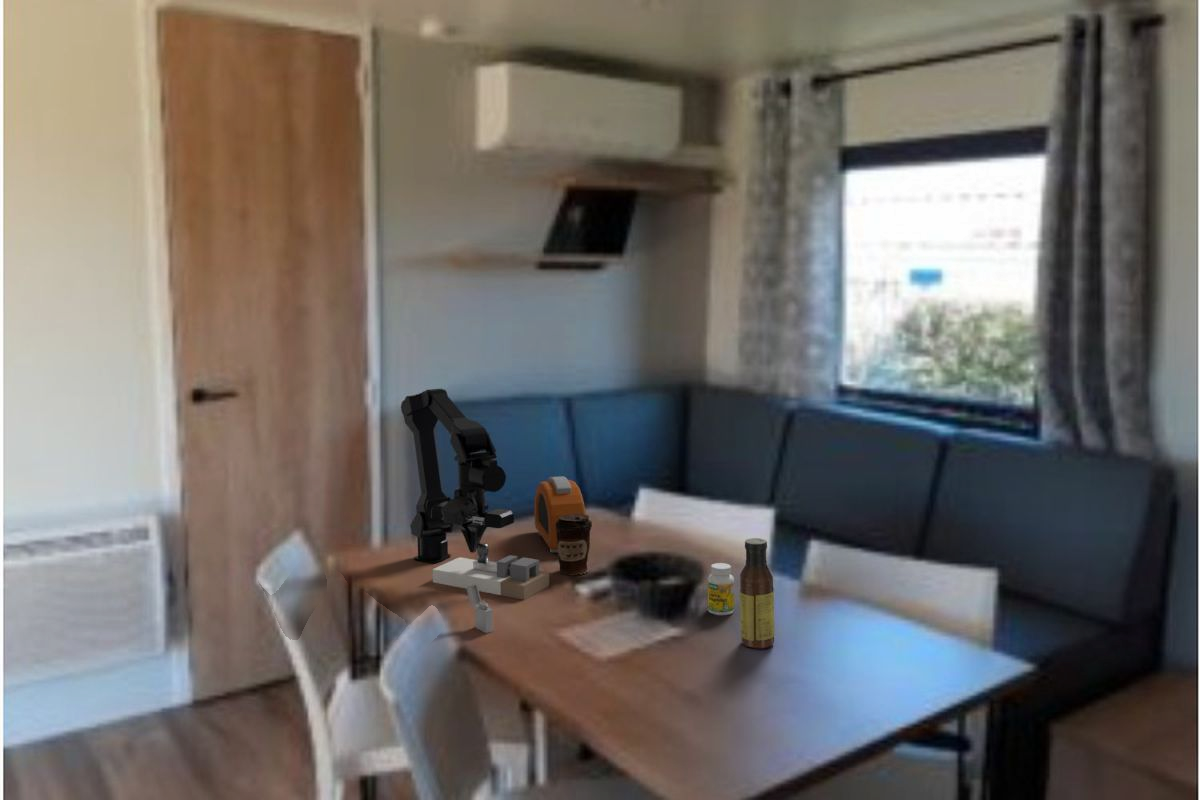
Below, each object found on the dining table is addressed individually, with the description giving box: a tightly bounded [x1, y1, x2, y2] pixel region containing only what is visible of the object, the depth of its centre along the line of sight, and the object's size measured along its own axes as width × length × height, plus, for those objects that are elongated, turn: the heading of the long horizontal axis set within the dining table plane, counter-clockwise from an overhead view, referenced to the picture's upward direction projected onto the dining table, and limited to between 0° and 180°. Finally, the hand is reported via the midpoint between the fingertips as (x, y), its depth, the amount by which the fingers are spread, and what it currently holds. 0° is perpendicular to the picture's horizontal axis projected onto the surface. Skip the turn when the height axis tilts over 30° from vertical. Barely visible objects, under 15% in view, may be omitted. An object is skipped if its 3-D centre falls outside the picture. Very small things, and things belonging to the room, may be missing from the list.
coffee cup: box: [555, 514, 593, 576], centre depth 229 cm, size 9×8×13 cm
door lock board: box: [432, 554, 550, 600], centre depth 221 cm, size 24×10×6 cm, turn 62°
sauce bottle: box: [739, 537, 776, 650], centre depth 186 cm, size 6×6×20 cm
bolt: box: [473, 542, 511, 575], centre depth 220 cm, size 10×2×6 cm, turn 62°
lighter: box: [465, 584, 494, 634], centre depth 196 cm, size 7×2×8 cm, turn 39°
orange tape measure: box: [534, 475, 587, 553], centre depth 252 cm, size 23×9×17 cm, turn 14°
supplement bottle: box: [707, 562, 735, 616], centre depth 204 cm, size 5×5×10 cm
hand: (472, 552), depth 222 cm, fingers closed
